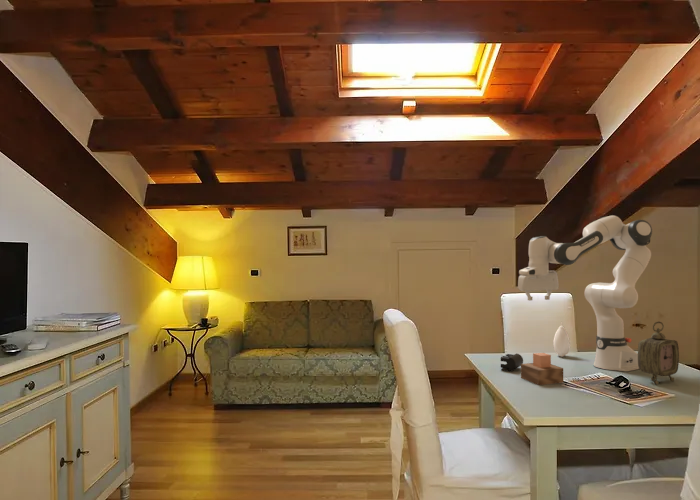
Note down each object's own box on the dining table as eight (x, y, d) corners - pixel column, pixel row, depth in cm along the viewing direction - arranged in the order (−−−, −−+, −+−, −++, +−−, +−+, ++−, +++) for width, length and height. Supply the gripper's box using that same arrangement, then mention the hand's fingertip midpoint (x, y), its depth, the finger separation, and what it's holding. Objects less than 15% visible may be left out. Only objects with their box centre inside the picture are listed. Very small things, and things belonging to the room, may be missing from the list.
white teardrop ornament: (572, 358, 258) (572, 322, 257) (557, 358, 258) (556, 322, 257) (566, 354, 265) (566, 320, 265) (551, 354, 265) (550, 320, 265)
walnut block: (544, 375, 223) (544, 361, 223) (563, 382, 212) (563, 368, 212) (520, 377, 220) (520, 363, 220) (538, 385, 209) (538, 370, 208)
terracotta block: (543, 364, 219) (543, 352, 219) (550, 366, 214) (550, 355, 214) (533, 365, 218) (533, 353, 218) (540, 367, 213) (540, 355, 213)
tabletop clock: (657, 386, 205) (657, 324, 205) (636, 381, 213) (635, 321, 213) (679, 381, 212) (678, 321, 212) (657, 377, 220) (657, 318, 220)
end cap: (515, 373, 229) (515, 357, 229) (500, 370, 233) (500, 356, 233) (523, 368, 237) (523, 354, 237) (508, 366, 241) (508, 352, 241)
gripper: (552, 269, 247) (552, 298, 247) (516, 270, 241) (516, 300, 241) (561, 270, 241) (561, 299, 241) (524, 271, 235) (524, 301, 235)
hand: (538, 300), depth 241 cm, fingers open, 8 cm apart
